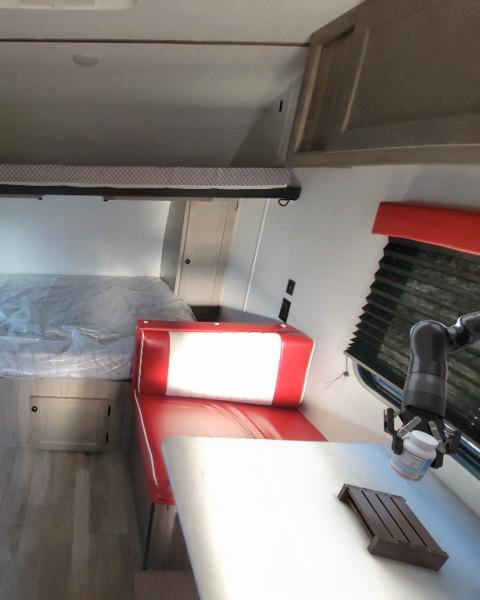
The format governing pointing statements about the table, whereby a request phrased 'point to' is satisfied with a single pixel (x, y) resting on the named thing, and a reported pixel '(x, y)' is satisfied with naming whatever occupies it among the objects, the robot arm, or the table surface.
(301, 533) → the table surface
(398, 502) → the rack
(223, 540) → the table surface
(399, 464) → the pill bottle
